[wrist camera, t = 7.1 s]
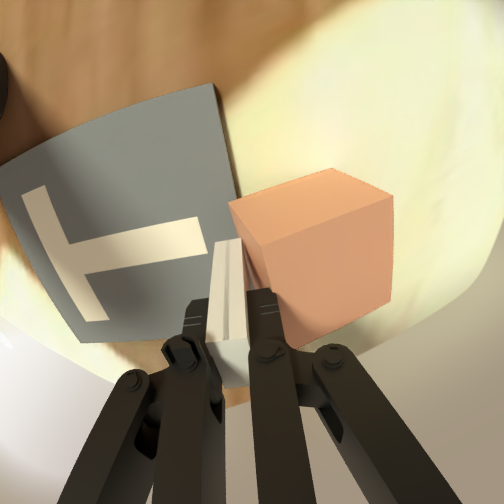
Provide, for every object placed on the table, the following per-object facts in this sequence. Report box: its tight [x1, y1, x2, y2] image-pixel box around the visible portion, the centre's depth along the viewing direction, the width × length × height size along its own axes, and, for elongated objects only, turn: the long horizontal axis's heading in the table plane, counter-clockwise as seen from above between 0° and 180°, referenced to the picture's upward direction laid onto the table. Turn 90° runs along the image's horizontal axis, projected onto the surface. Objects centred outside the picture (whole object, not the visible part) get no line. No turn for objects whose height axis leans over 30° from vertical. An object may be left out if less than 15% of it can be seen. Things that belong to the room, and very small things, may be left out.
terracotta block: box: [228, 168, 394, 349], centre depth 14 cm, size 6×6×5 cm
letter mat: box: [0, 83, 255, 343], centre depth 17 cm, size 16×16×1 cm
